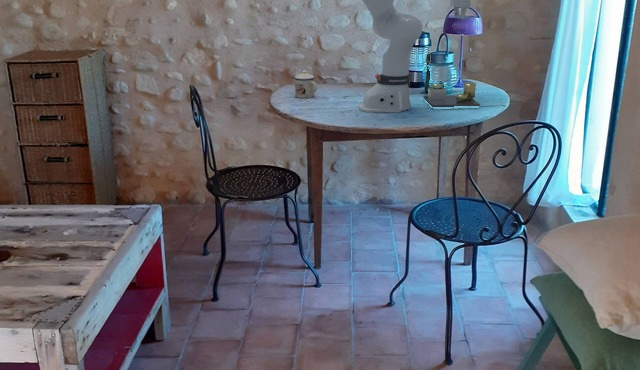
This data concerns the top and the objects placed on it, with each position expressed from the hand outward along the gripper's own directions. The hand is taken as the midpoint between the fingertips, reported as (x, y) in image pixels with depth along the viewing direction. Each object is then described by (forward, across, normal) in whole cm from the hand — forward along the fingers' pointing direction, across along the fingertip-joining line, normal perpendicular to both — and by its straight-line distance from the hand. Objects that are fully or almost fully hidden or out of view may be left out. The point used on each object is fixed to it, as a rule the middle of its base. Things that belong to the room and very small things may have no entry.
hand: (459, 17), depth 282 cm
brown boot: (+33, -13, -1) cm, 35 cm away
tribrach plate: (+35, -13, +5) cm, 38 cm away
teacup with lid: (+35, +9, +66) cm, 75 cm away
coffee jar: (+35, +12, +6) cm, 38 cm away
